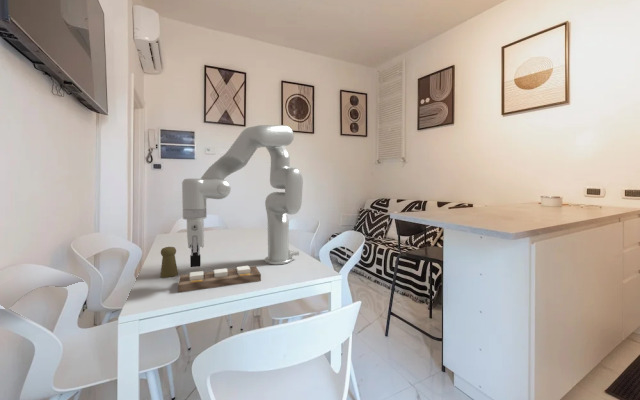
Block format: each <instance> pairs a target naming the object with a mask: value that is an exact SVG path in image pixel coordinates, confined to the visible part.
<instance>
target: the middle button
mask: <svg viewBox="0 0 640 400" xmlns="http://www.w3.org/2000/svg"><path fill="white" fill-rule="evenodd" d="M227 270H228V268H227V267H226V268H215V269H214V270H213V271H214V278H217V277H225V276H228V271H227Z"/></svg>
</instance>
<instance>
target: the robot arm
mask: <svg viewBox="0 0 640 400" xmlns="http://www.w3.org/2000/svg"><path fill="white" fill-rule="evenodd" d="M294 137H295V135H294V131H293V129H292V128H291V127H290V126H288V125H285V124H280V125H279V124H270V125H269V124H260V125H259V124H258V125H255V126H250V127H246V128H244V129H243V130H242V131H241V132H240V134H239V135H238V137H236V139H235V141H233V143H232V144H231V146H230V147H229V149H228V150H227V151H226V152H225V153H224V154H223V155H221V156H220V157H219V158H217V160H216V161H215V162H214V163H212V165H210V166H209V167H208V169H206V171H205V172H204V173H203V175H201V177H200V178H184V179H183V180H182V182H181V184H182V185H181V192H182V193H181V195H182V198H181V199H182V219H183V220H185V221H186V238H187V247H188V248H189V249H190V256H189V257H190V259H189V260H190V268H198V267H201V262H202V261H201V254H200V253H201V251H200V250H201V249H200V247H201V248H204V247H205V227H204V226H205V225H204V224H205V223H204V220H206V219H207V215H208V214H207V200H208V199H211V200H223V199H225V198H226V197H228V196H229V195H230V194H231V185H230V183H229V182H228V181H227V180H225V179H226V178H227V177H229V176H230V175H232V174H234V173H235V172H237V171H239V170H241V169H243V168H245V167H246V166H247V164H248V162H249V161H250V159H251V158H252V156H253V155H254V154H255V152H256V151H257V150H258V148H259V149H260V148H265V149H266V151H268V153H269V155H270V167H269V169H270V170H269V171H270V172H269V183H270V186H271V187H272V188H274V189H275V190H276V189H277V190H284V191H274V192H271V193H269V194H268V195H267V196H266V198H265V202H264V204H265V205H264V206H265V211H266V217H267V256H266V257H264V262H265V263H266V264H269V265H284V264H285V265H286V264H289V263H291V262H292V261H293V256H300V252H299V251H297V250H290V246H289V245H290V244H289V243H290V240H289V239H290V237H289V236H290V235H289V234H290V230H289V229H290V225H289V224H290V222H289V218H288V215H296V214H297V213H299V211H300V210H301V207H302V203H303V183H304V179H303V175H302V172H301V171H300V170H299V169H298V168H296V167H290V166H291V165H290V163H291V162H290V160H291V159H290V158H291V157H290V154H289V152H288V149H287V148H286V147H287V146H290V145H291V144H292V143H293V141H294Z"/></svg>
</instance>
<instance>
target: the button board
mask: <svg viewBox="0 0 640 400" xmlns="http://www.w3.org/2000/svg"><path fill="white" fill-rule="evenodd" d="M249 267H250V273H248V274H240V275H237V268H231V269H230V268H229V269H227V271H228V276H225V277H217V278H214V270H213V271H206V272H204V271H203V273H204V279H201V280H194V281H190V273H187V274H182V275H181V274H180V275H179V280H178V284H177V287H178V288H177V291H178V293H184V292H190V291H191V292H192V291H198V290H199V291H200V290H206V289H212V288H219V287H225V286H226V287H227V286H232V285H234V286H235V285H240V284H247V283H254V282H261V281H262V274H261V272H260V271H259V269H258V268H257V266H254V265H253V266H249Z"/></svg>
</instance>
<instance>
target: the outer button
mask: <svg viewBox="0 0 640 400" xmlns="http://www.w3.org/2000/svg"><path fill="white" fill-rule="evenodd" d="M189 274H190V281H194V280H201V279H204V270H201V271H191V272H189Z"/></svg>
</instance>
